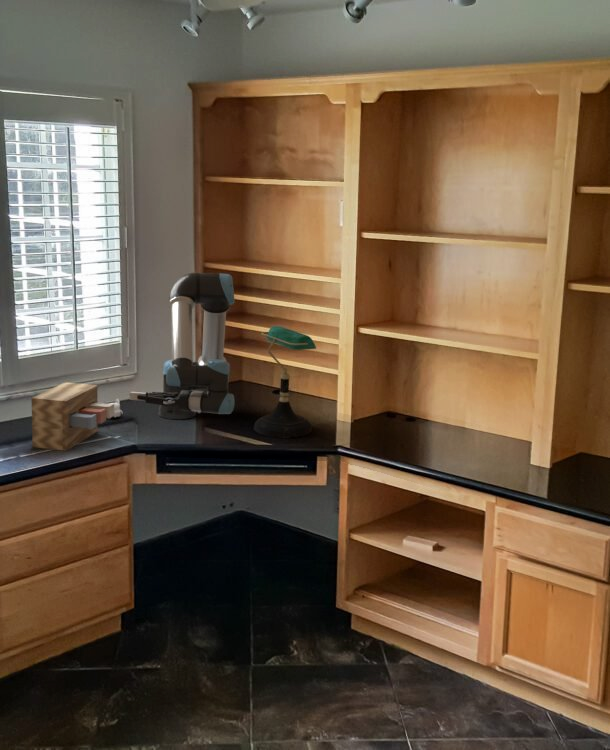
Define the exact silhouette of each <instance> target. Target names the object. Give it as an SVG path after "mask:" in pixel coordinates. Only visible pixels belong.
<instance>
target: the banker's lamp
mask: <svg viewBox="0 0 610 750" xmlns="http://www.w3.org/2000/svg"><path fill="white" fill-rule="evenodd" d="M261 335H262V336H264V337H266V340H267V341H269V342H270V343H271V344H270V345H269V346H268V350H267V352H268V354H269V356H270V357H271V358H272V359H273V360H274V361H275V362H276V363H277V364H278V365H279V366H280V367H281V369H282V371H283V373H281V374H280V377H279V378H280V385H279V386H280V388H279V395H280V397H279V401H278V403H277V406H276V407H275V408H274V410H273V411H272V413H268V414H265V415H263V416H261V417H260V418H258V419H257V420H256V421H255V422H254V426H253V430H254V431H255V432H256V433H258V434H259V435H262V436H266V437H271V438H277V437H278V439H291V438H290V437H296V438H299V437H298V436H302V437H304V436H303V435H306V434H308V435H310V434H311V433H312V432H311V431H313V429H312V427H313V426H312V424H311V422H310V421H309V420H308V418H304V417H303V416H301V415H297V414H296V413H295V412H294V410H293V408H292V407H291V403H290V401H289V395H290V394H289V393H290V389H289V388H290V374H289V373H288V369H287V367H284V366H283V364H282V363H281V362H280V361H279V360H278V359H277V358H276V357H275V356H274V354H272V352H271V349H272V347H273V346H274V344H277V345H279V346H282V347H285V348H288V349H291V350H294V351H298V350H299V351H302V350H303V351H304V350H315V349H317V346H316V344H315V342H314V340H313V339H312V337H310V336H309V335H307V334H305V333H301V332H298V331H295V330H292V329H289V328H287V327H283V326H279V325H273V326H272V327H271V326H270V327H269V329H268V331H263V332H261ZM310 432H311V433H310ZM309 433H310V434H309ZM306 436H307V435H306Z"/></svg>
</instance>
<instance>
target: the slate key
mask: <svg viewBox="0 0 610 750" xmlns="http://www.w3.org/2000/svg"><path fill="white" fill-rule="evenodd" d="M69 420H70V426H72V427H82V428H89V429H93V428H94V427H96V414H93V415H87V414H77V413H72V414H70V415H69Z"/></svg>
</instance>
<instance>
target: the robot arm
mask: <svg viewBox="0 0 610 750" xmlns="http://www.w3.org/2000/svg"><path fill="white" fill-rule="evenodd" d="M233 283H234V281H233V277H232V275H231V274H229V273H222V272H220V273H209V272H208V273H207V272H190V273H187V274H184V275H183V276H181V277H180V278H178V279H177V281H176V282H175V283H174V284H173V286H172V288H171V290H170V293H169V295H168V296H169V297H168V307H169V308H170V309H171V359H168V360H166V361H165V362H164V363H163V371H162V374H163V382H162V383H163V385H162V387H163V391H152V392H147V391H146V392H138V391H130V392H129V400H131V401H140V402H141V401H142V402H145V403H146V404H152V405H159V407H158V416H160V417H161V418H163V419H167V420H168V419H171V420H185V419H191V418H194V417H196V413H198V414H201V413H210V414H218V415H230V414H232V412H233V411H234V408H235V403H236V402H235V401H236V400H235V396H234V394H233V393H229V380H230V373H231V365H230V363H229V362H228V361H227V358H226V357H225V356H224V353H225V351H224V350H225V349H224V348H225V336H226V334H225V333H226V322H227V321H226V319H227V318H226V317H227V312H228V311H229V310H231V305H234V304H235V291H234V284H233ZM195 304H200V305H199V306H200V308H201V310H202V311H203V329H202V330H203V331H202V348H201V350H202V351H201V355H200V356H199V358H198V360H197V361H194V359H193V357H194V356H193V355H194V353H193V351H194V350H193V309H194V308H195Z"/></svg>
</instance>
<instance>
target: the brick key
mask: <svg viewBox="0 0 610 750" xmlns="http://www.w3.org/2000/svg"><path fill="white" fill-rule="evenodd" d="M79 414H87V415H93V414H96V422H98V424H103V423H104V422H106V421H107V418H106V409H102V410H101V409H91V408H81V409H79Z"/></svg>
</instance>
